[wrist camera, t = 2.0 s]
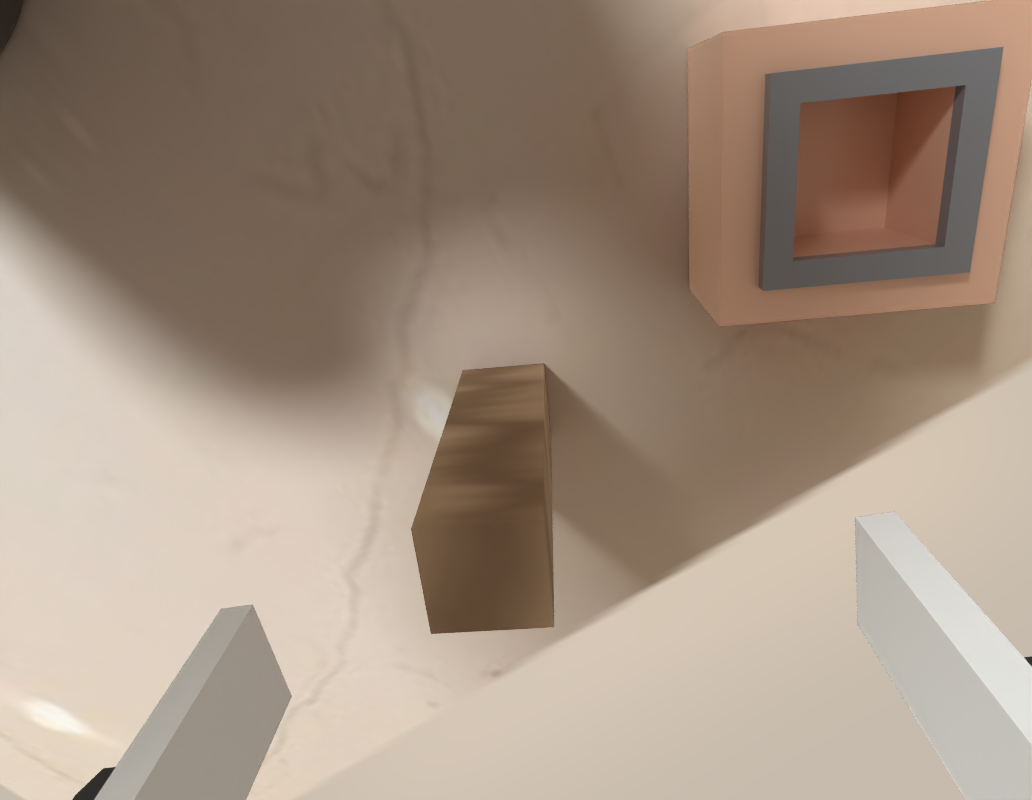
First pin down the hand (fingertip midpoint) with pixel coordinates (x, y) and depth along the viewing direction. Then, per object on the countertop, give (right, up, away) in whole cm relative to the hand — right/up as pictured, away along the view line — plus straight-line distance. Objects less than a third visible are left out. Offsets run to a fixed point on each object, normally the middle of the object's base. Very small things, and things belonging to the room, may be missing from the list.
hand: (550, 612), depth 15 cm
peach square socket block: (+12, +15, +14) cm, 24 cm away
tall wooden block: (-1, +4, +19) cm, 20 cm away
